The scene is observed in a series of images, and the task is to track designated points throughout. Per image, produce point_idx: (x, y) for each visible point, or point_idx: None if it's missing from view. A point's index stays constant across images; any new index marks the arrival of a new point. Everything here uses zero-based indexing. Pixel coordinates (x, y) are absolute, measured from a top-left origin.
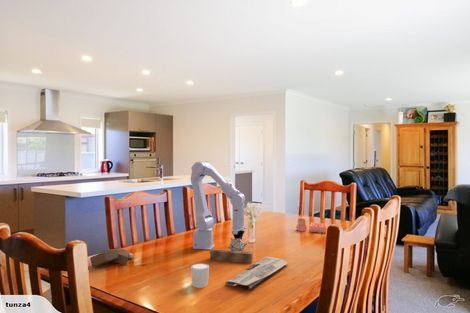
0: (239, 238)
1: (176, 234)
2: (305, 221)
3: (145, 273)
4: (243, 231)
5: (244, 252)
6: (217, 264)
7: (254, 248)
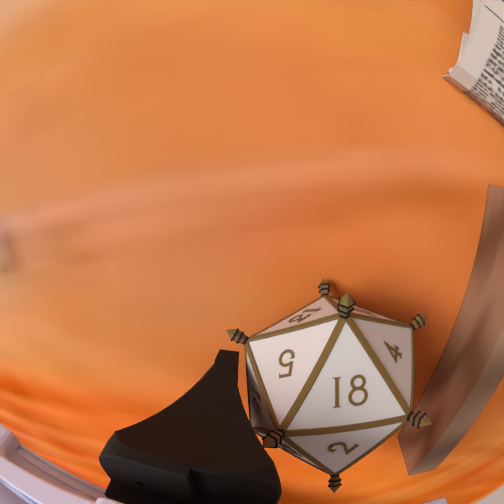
0: (309, 435)
1: None
2: None
3: (479, 482)
4: (182, 480)
5: None
6: None
7: (101, 199)
